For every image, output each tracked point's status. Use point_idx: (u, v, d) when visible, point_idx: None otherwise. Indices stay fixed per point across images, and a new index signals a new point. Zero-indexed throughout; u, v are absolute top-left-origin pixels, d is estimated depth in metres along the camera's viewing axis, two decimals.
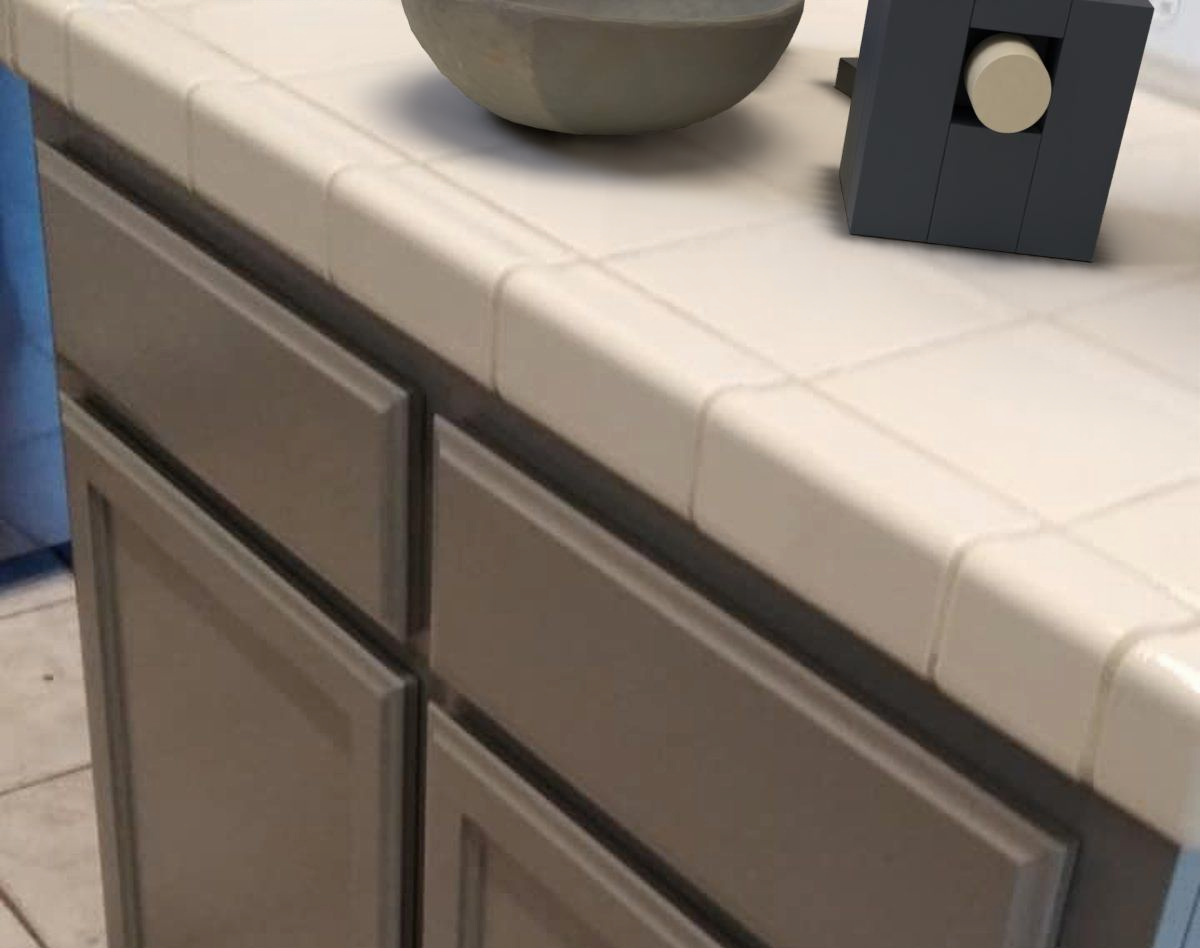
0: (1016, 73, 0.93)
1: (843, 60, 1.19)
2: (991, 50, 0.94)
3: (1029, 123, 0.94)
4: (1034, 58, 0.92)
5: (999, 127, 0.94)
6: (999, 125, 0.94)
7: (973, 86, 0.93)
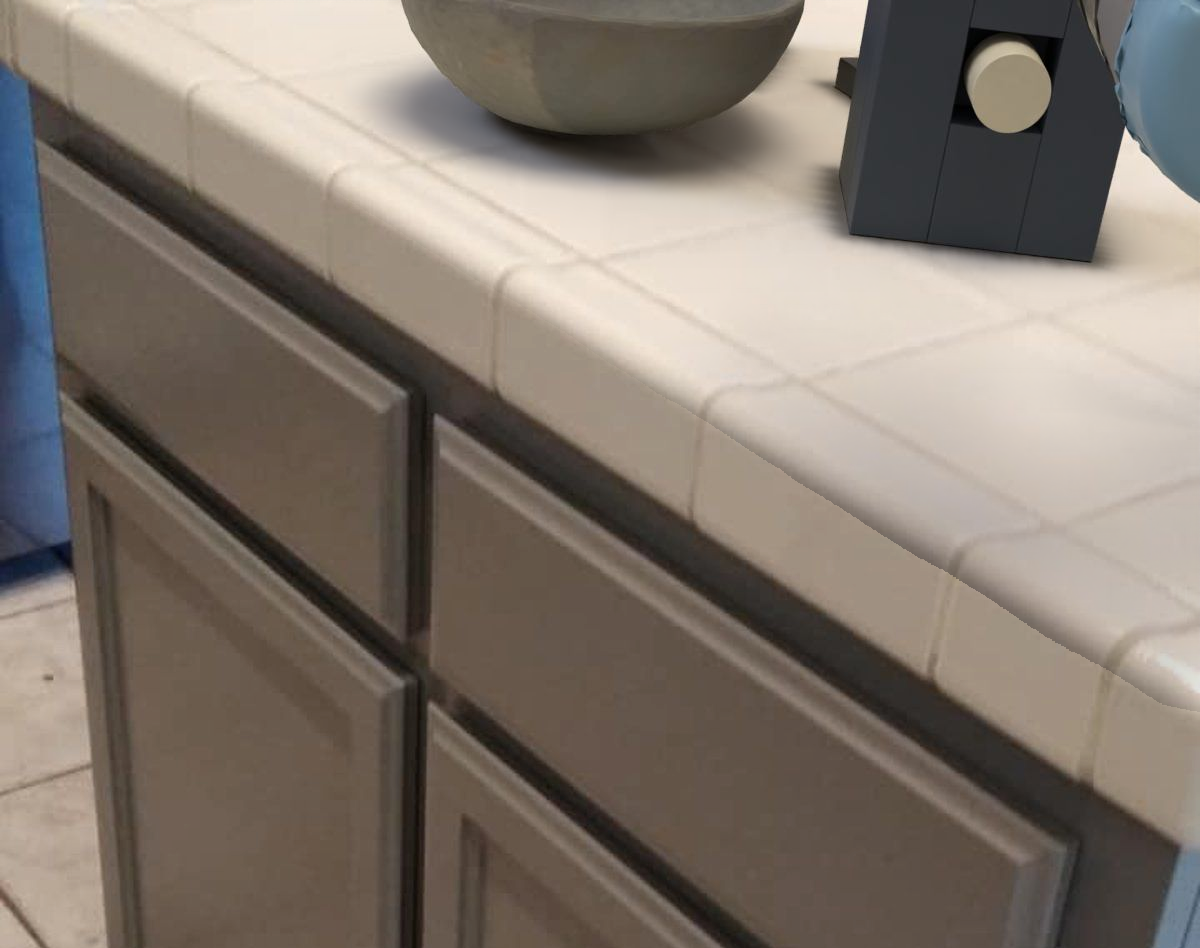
0: (1016, 73, 0.93)
1: (843, 60, 1.19)
2: (991, 50, 0.94)
3: (1029, 123, 0.94)
4: (1034, 58, 0.92)
5: (999, 127, 0.94)
6: (999, 125, 0.94)
7: (973, 86, 0.93)
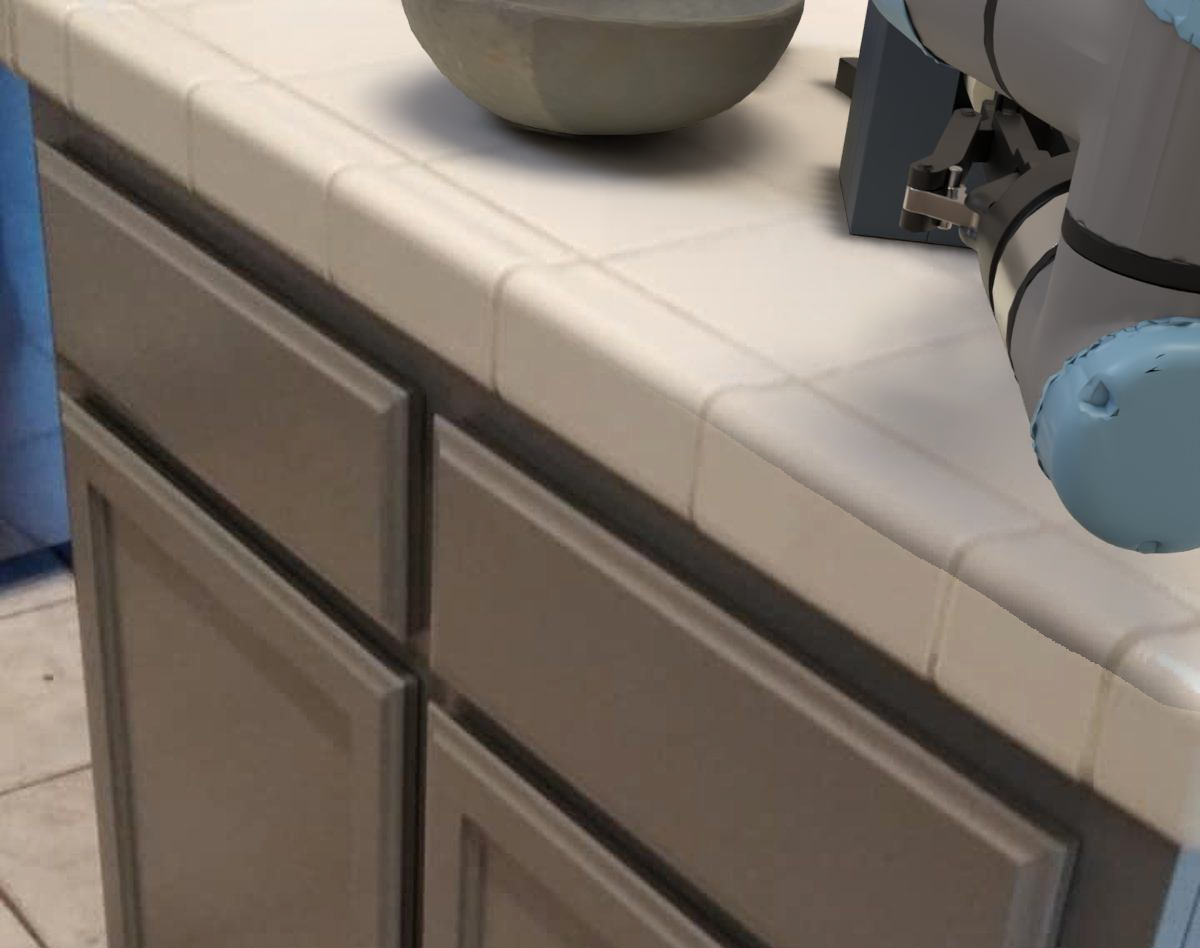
0: None
1: (843, 60, 1.19)
2: None
3: None
4: None
5: None
6: None
7: (972, 85, 0.93)
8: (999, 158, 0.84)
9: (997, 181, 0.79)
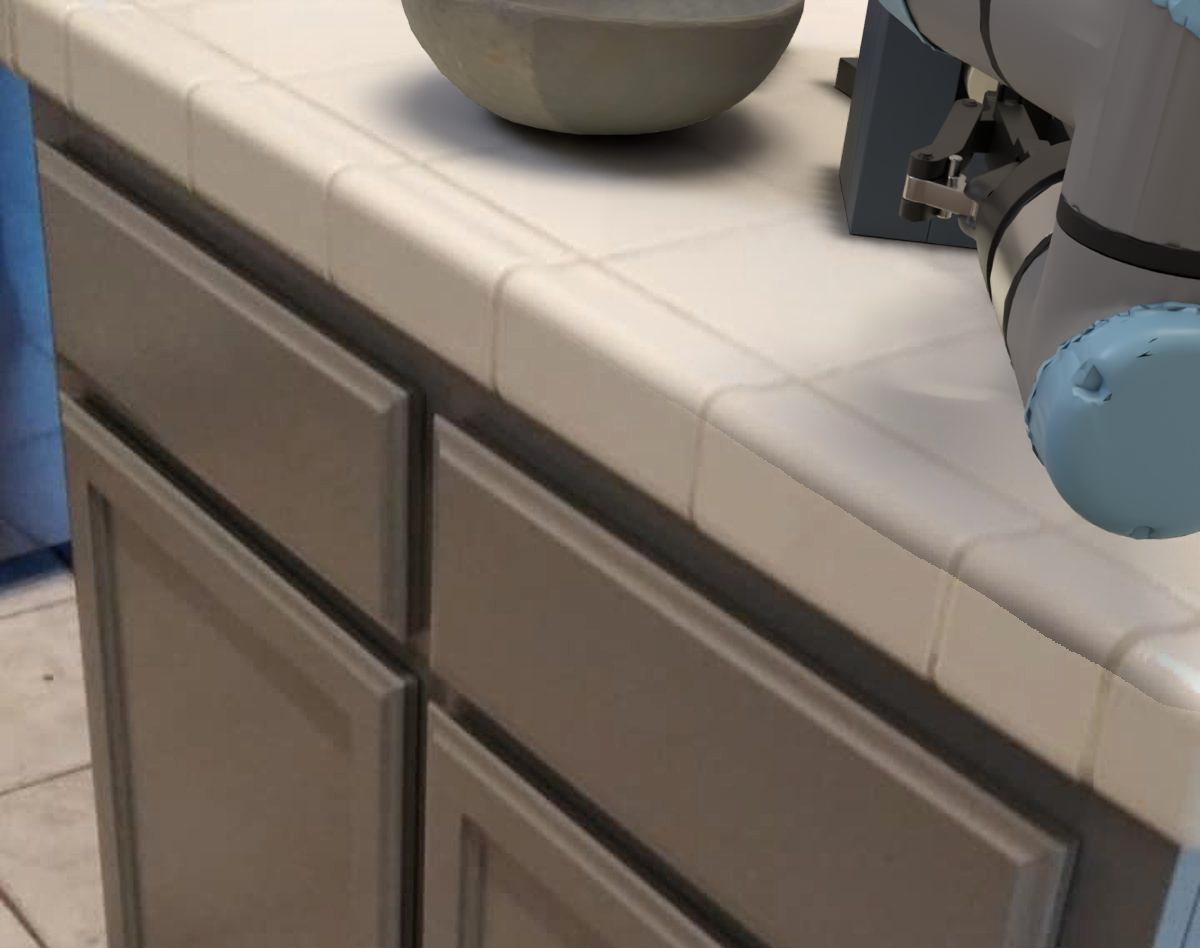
0: None
1: (843, 60, 1.19)
2: None
3: None
4: None
5: None
6: None
7: (969, 76, 0.94)
8: (1000, 148, 0.84)
9: (997, 170, 0.79)
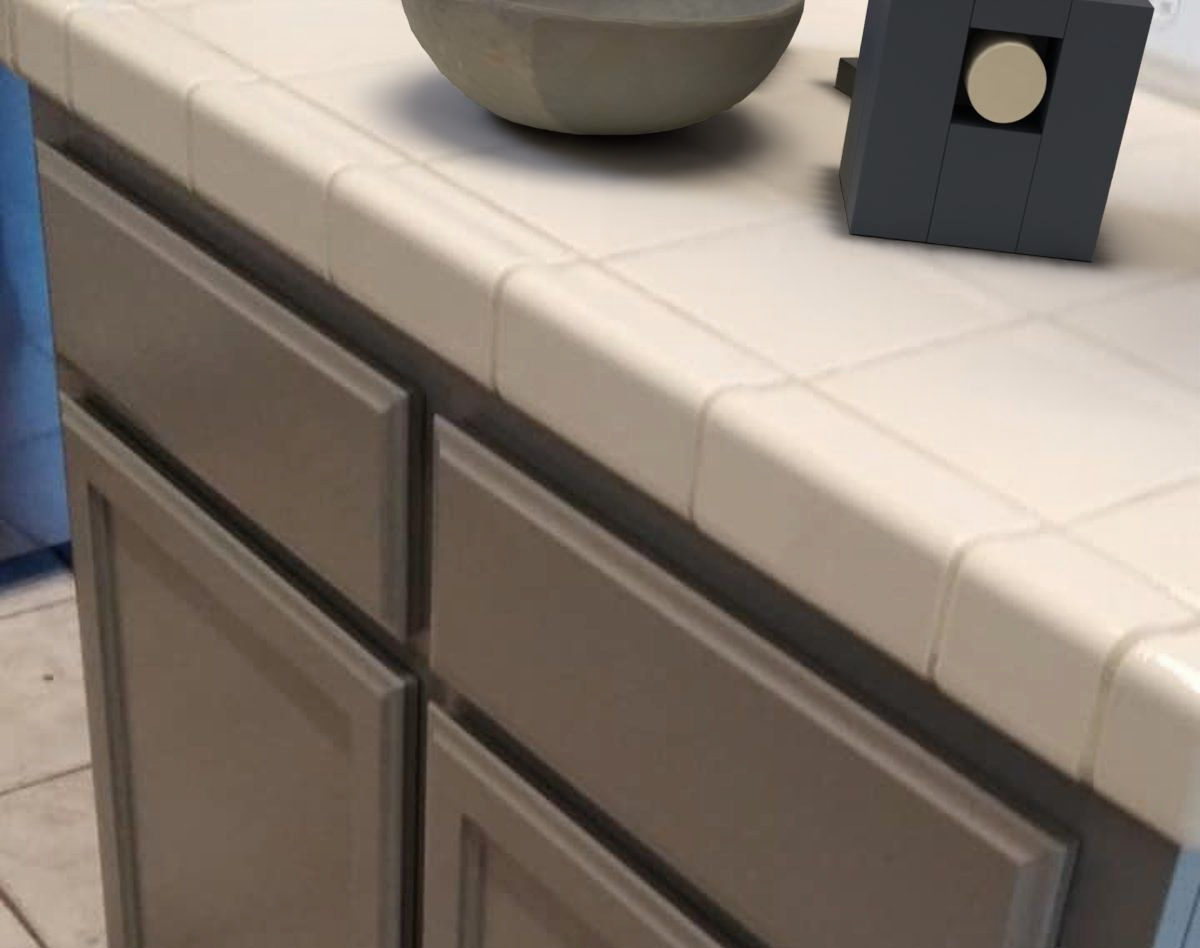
0: (1012, 64, 0.94)
1: (843, 60, 1.19)
2: (987, 41, 0.95)
3: (1024, 113, 0.95)
4: (1029, 49, 0.94)
5: (995, 117, 0.95)
6: (994, 115, 0.95)
7: (969, 76, 0.94)
8: None
9: None
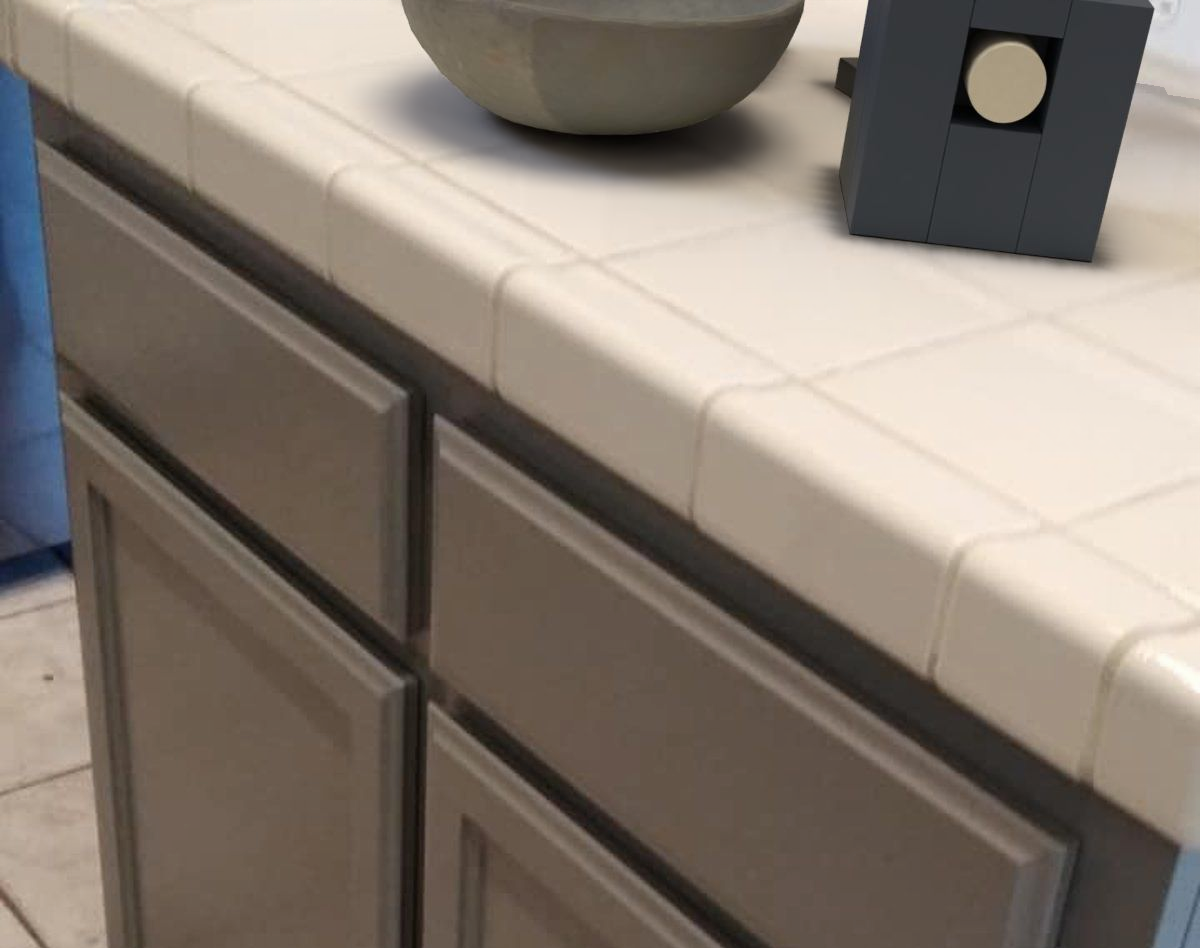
0: (1012, 64, 0.94)
1: (843, 60, 1.19)
2: (987, 41, 0.95)
3: (1024, 113, 0.95)
4: (1029, 49, 0.94)
5: (995, 117, 0.95)
6: (994, 115, 0.95)
7: (969, 76, 0.94)
8: None
9: None
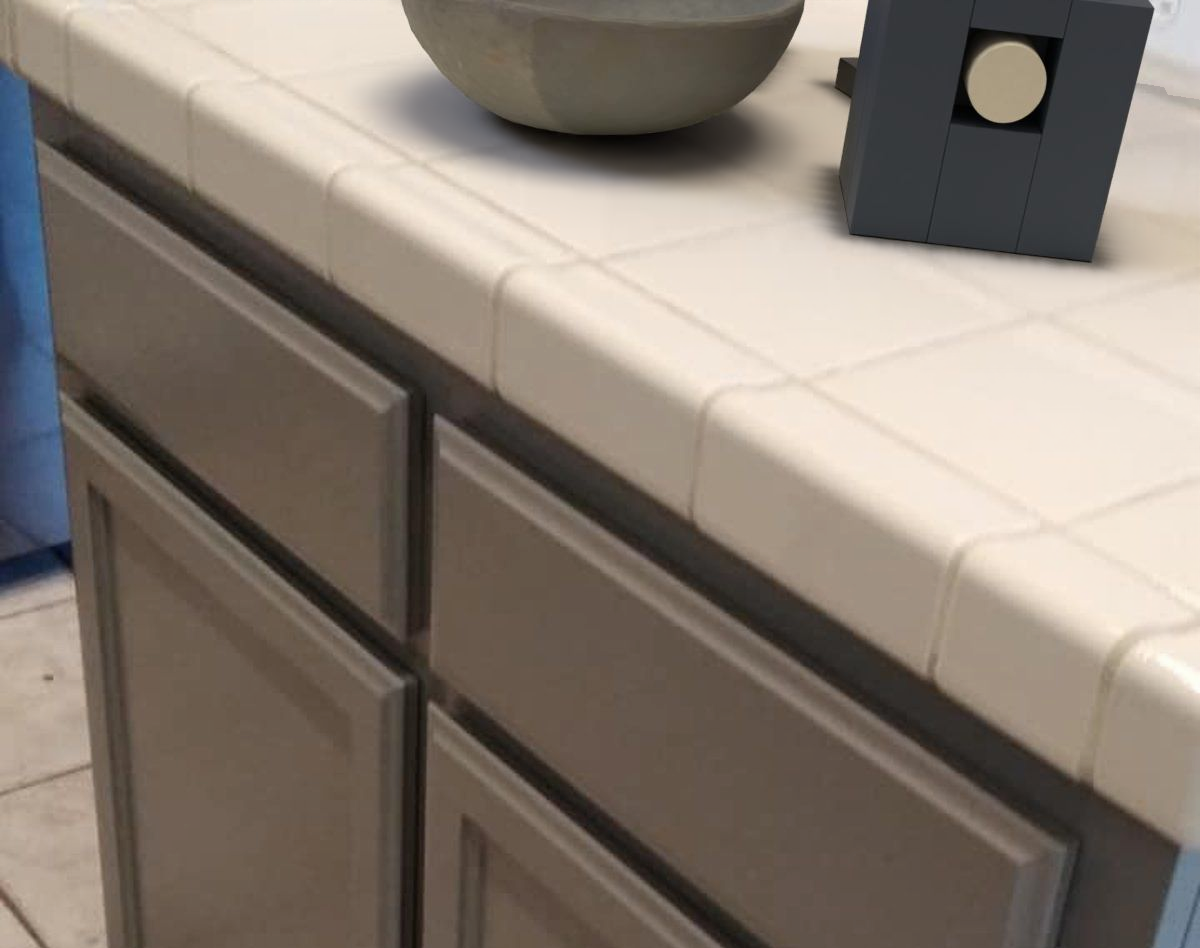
0: (1012, 64, 0.94)
1: (843, 60, 1.19)
2: (987, 41, 0.95)
3: (1024, 113, 0.95)
4: (1029, 49, 0.94)
5: (995, 117, 0.95)
6: (994, 115, 0.95)
7: (969, 76, 0.94)
8: None
9: None
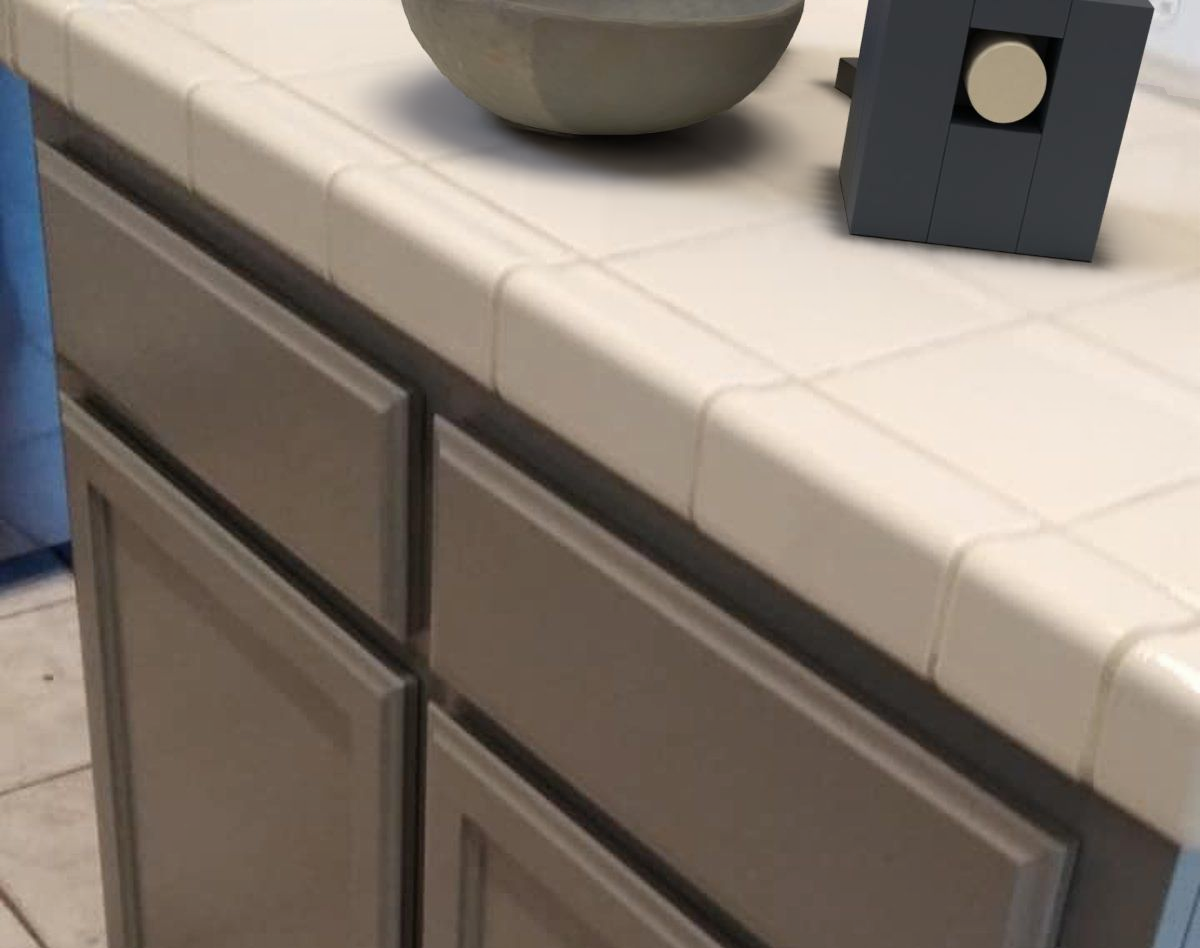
0: (1012, 64, 0.94)
1: (843, 60, 1.19)
2: (987, 41, 0.95)
3: (1024, 113, 0.95)
4: (1029, 49, 0.94)
5: (995, 117, 0.95)
6: (994, 115, 0.95)
7: (969, 76, 0.94)
8: None
9: None
